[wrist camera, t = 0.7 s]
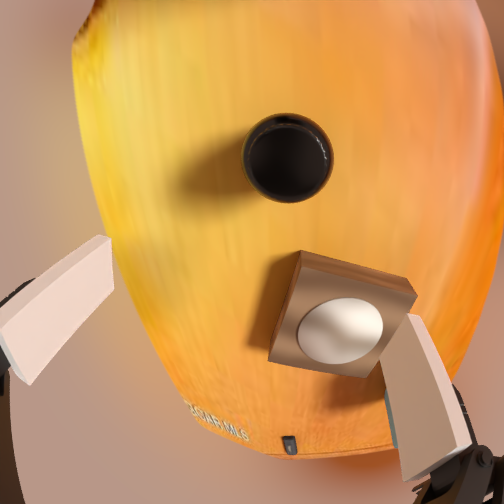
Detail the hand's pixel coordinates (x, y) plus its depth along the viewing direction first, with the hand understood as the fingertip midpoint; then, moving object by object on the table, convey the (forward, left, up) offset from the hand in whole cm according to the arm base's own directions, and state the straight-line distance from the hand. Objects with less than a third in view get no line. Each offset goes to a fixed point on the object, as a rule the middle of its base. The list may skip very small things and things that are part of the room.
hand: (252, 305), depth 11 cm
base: (+12, +11, -19) cm, 25 cm away
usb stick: (+50, +17, -20) cm, 56 cm away
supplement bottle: (-5, 0, -20) cm, 20 cm away
